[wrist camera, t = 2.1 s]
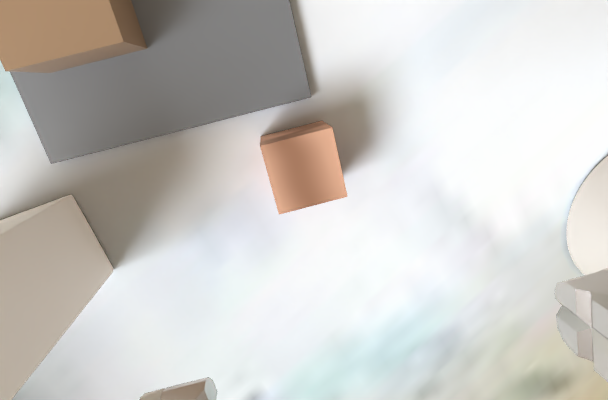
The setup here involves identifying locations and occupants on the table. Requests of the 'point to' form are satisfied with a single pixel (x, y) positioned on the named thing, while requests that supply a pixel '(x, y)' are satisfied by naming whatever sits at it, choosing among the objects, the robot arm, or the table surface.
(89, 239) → the milk carton
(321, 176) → the top block
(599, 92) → the table surface
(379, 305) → the table surface
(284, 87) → the building board
